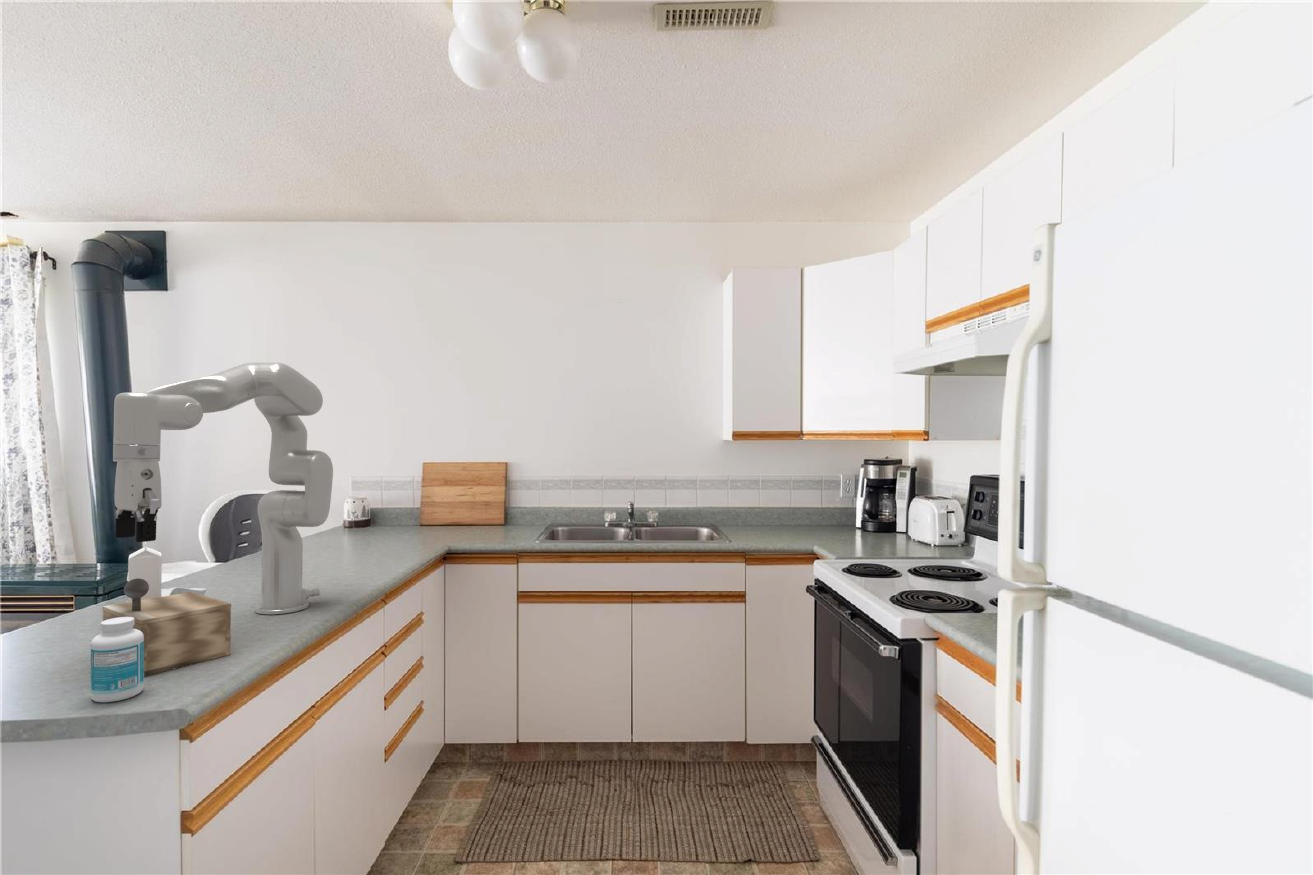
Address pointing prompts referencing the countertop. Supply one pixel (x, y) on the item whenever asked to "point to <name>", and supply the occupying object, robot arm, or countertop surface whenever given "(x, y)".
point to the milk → (146, 570)
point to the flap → (161, 604)
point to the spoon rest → (181, 591)
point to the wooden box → (184, 640)
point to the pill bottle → (117, 661)
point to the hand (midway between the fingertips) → (135, 539)
